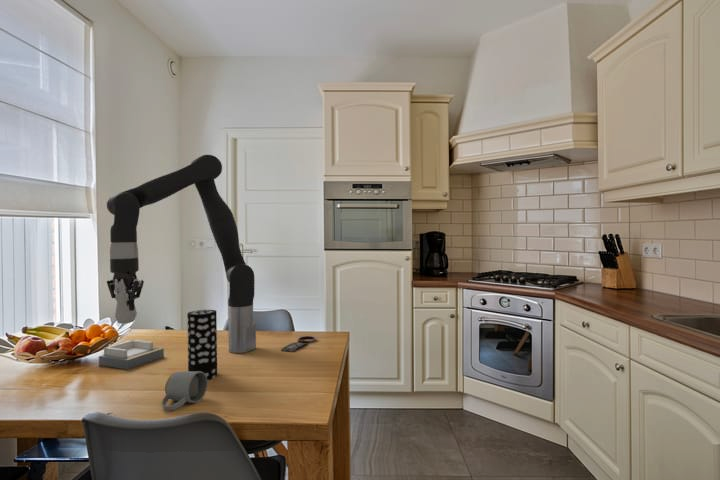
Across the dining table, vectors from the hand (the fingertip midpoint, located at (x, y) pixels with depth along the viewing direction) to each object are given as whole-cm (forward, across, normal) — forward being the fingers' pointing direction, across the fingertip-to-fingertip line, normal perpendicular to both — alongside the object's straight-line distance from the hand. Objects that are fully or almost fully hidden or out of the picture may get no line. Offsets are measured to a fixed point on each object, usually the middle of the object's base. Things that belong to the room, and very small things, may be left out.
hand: (125, 311), depth 116 cm
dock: (+20, +13, -12) cm, 27 cm away
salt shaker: (+3, 0, 0) cm, 3 cm away
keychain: (+22, -34, -48) cm, 63 cm away
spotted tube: (+21, -23, -8) cm, 32 cm away
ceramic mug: (+21, -32, +9) cm, 39 cm away
